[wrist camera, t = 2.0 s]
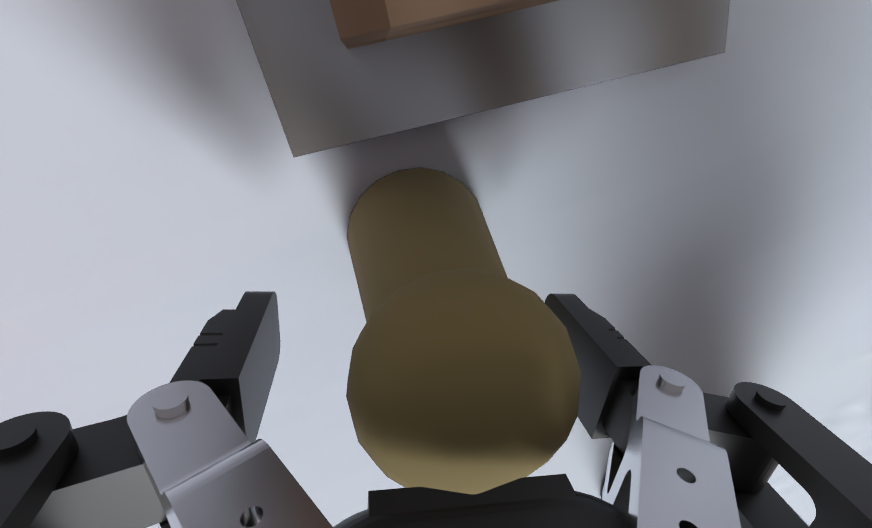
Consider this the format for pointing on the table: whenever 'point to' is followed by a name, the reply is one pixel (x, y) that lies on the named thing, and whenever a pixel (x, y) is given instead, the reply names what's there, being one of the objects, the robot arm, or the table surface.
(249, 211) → the table surface
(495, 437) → the cork
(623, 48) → the socket block
